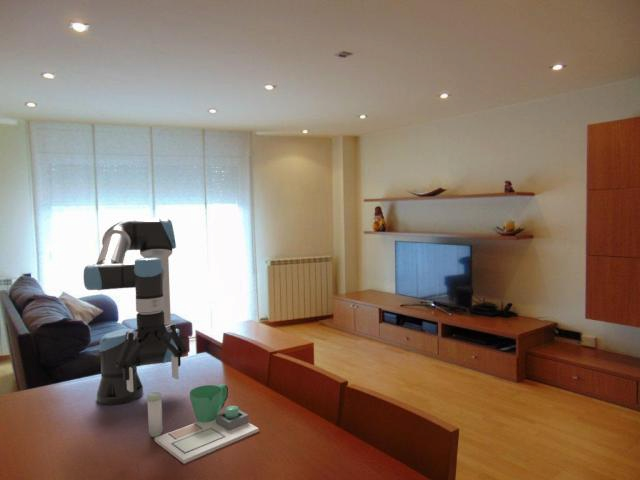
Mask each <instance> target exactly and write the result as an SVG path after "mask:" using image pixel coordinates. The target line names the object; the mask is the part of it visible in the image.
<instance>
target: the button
mask: <svg viewBox="0 0 640 480" xmlns="http://www.w3.org/2000/svg"><path fill="white" fill-rule="evenodd" d="M239 410H240V409H239V406H237V405H229V406H227V407H225V409H224V412H225V418H226V419H228V420H232V419H234V418H237V417H239Z"/></svg>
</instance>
